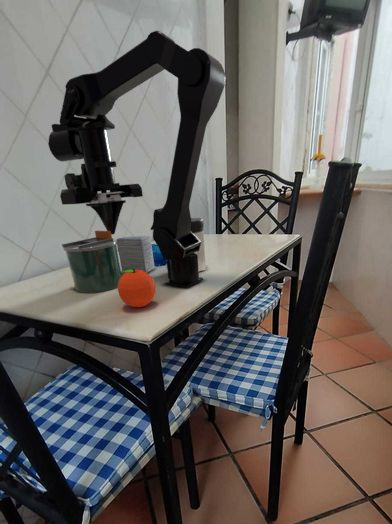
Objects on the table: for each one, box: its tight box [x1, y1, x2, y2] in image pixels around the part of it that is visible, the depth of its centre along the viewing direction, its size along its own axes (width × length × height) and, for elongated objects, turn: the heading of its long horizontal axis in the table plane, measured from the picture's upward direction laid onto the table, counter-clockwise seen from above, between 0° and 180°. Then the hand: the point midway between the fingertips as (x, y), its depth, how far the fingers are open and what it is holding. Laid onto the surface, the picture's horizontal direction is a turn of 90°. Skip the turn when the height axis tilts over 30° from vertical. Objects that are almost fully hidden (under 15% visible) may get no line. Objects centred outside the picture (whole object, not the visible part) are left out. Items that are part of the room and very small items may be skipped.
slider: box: [81, 230, 113, 244], centre depth 71 cm, size 5×5×2 cm
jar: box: [191, 217, 207, 273], centre depth 79 cm, size 9×8×12 cm
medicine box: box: [115, 235, 156, 273], centre depth 82 cm, size 8×4×9 cm, turn 66°
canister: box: [61, 236, 123, 294], centre depth 72 cm, size 12×12×10 cm
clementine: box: [114, 269, 156, 308], centre depth 58 cm, size 8×7×7 cm
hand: (111, 234), depth 74 cm, fingers closed
